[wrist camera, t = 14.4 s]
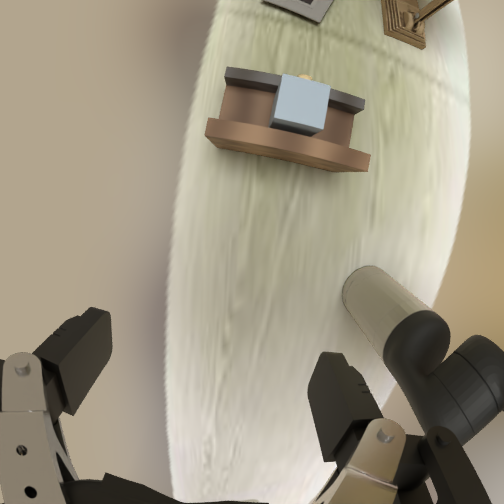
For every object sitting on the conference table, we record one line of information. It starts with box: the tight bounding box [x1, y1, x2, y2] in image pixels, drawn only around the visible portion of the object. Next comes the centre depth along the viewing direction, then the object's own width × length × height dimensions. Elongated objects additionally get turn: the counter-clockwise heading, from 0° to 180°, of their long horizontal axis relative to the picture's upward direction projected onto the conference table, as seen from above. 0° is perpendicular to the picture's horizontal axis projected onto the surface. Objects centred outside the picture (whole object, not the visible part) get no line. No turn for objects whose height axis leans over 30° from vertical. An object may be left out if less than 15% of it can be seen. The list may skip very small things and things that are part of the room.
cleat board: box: [204, 67, 371, 172], centre depth 33 cm, size 18×10×13 cm, turn 79°
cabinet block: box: [268, 74, 331, 137], centre depth 29 cm, size 5×6×10 cm
